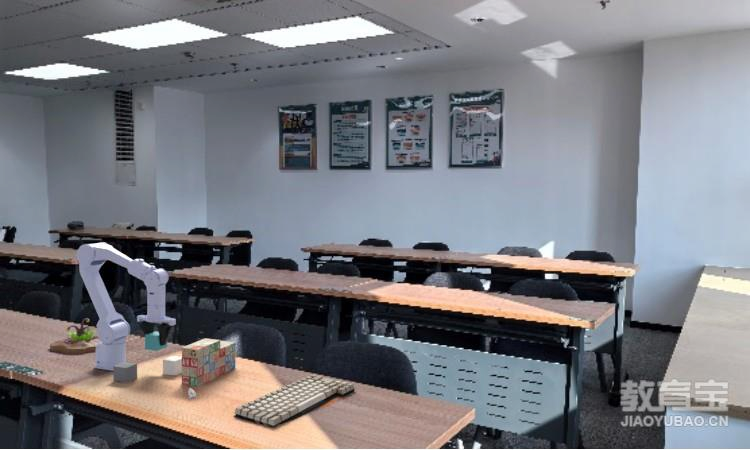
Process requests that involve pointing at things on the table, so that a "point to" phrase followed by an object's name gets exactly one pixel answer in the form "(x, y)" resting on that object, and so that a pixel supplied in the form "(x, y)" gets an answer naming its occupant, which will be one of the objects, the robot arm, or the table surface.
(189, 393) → the power adapter
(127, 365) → the charcoal block
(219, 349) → the stack of blocks
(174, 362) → the cream block
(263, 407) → the mechanical keyboard
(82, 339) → the plant
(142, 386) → the table surface
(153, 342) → the teal block
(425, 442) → the table surface
